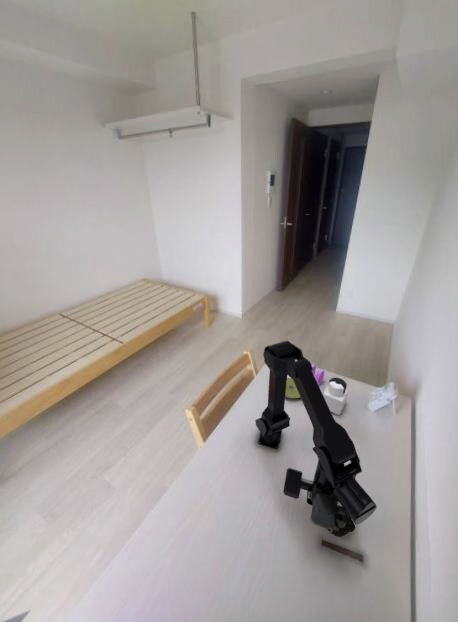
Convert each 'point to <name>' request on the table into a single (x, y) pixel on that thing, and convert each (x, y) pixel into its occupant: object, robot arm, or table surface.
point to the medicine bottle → (336, 395)
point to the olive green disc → (291, 389)
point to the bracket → (318, 374)
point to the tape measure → (347, 528)
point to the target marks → (342, 550)
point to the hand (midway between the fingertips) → (317, 510)
